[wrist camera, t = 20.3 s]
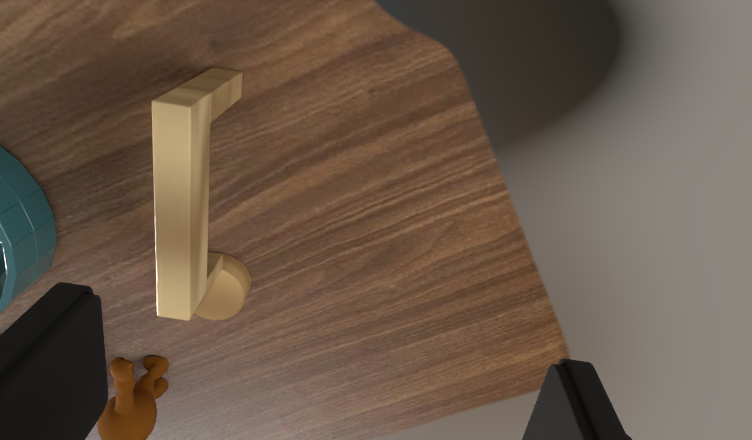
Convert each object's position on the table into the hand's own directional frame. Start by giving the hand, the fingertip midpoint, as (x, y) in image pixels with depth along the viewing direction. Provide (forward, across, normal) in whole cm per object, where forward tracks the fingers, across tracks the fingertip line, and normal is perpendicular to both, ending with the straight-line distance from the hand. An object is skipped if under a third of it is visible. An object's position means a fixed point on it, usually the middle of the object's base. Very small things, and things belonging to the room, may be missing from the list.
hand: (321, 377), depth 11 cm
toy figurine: (+24, +14, +24) cm, 37 cm away
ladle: (+24, +9, +8) cm, 27 cm away
